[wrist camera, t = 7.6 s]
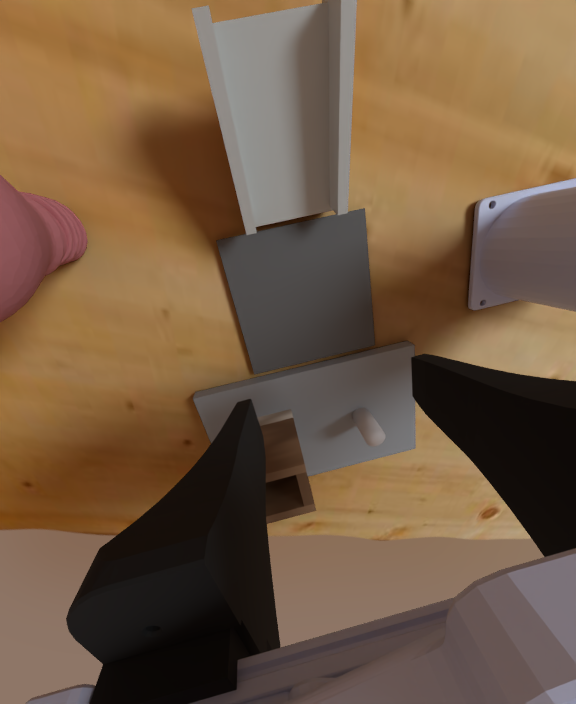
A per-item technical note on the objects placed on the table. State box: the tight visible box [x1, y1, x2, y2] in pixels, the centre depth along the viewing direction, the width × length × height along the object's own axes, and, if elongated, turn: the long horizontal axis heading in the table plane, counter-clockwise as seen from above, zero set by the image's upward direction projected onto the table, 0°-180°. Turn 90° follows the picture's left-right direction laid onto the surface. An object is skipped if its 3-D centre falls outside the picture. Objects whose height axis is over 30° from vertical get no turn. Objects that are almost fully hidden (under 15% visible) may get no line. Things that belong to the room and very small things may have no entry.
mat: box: [216, 208, 375, 374], centre depth 20 cm, size 10×10×1 cm
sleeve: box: [257, 409, 316, 524], centre depth 20 cm, size 4×4×6 cm
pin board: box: [193, 341, 415, 476], centre depth 22 cm, size 18×11×4 cm, turn 102°
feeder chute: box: [192, 0, 357, 235], centre depth 13 cm, size 6×8×6 cm
